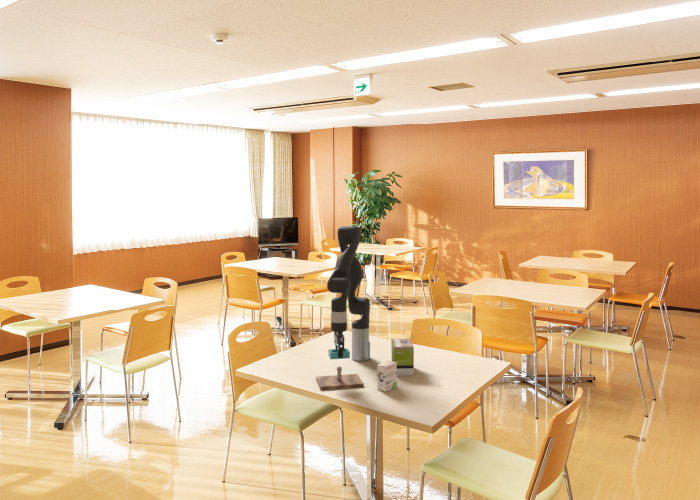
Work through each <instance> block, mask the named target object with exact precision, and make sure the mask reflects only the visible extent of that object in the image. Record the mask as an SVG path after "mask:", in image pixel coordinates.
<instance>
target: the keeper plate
mask: <svg viewBox="0 0 700 500" xmlns="http://www.w3.org/2000/svg"><path fill="white" fill-rule="evenodd" d="M336 371H337V373H336V374H335V375H324V376H323V375H322V376H316V377H315V381H316V383H317V385H318V387H319V389H320V391H324V390H325V391H326V390H327V391H328V390H340V389H352V388H353V389H354V388H362V387H363V388H364V384H365V383H364V382H363V381H362V379H361V377H360V376H359V375H358V373H351V374H342V371H343V368H342V366H337V367H336Z"/></svg>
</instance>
